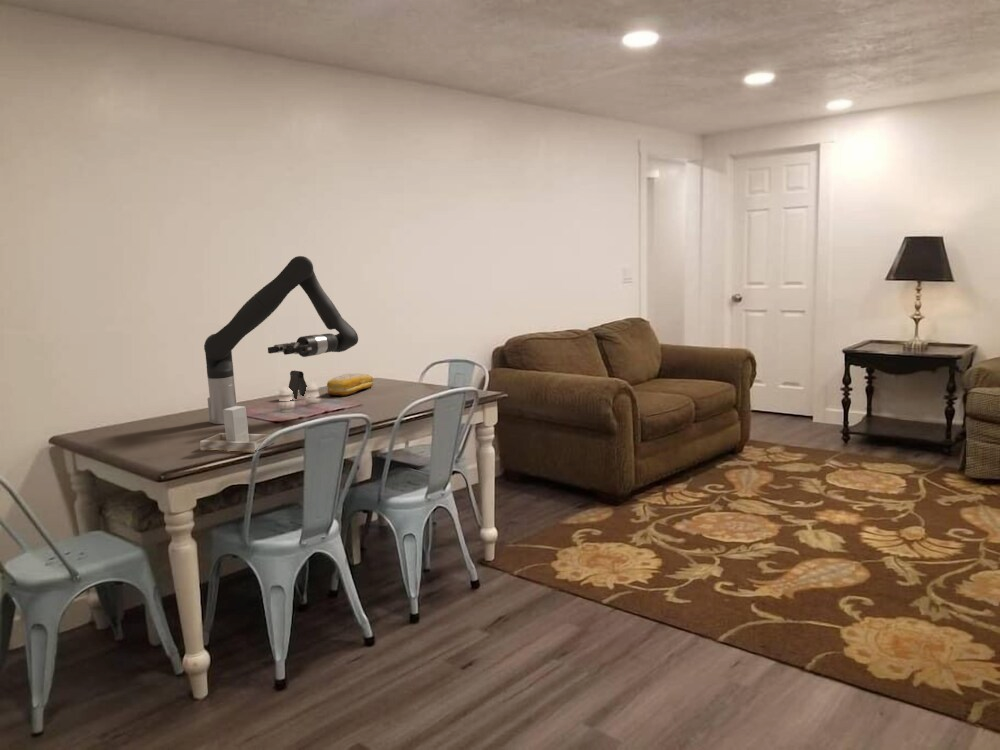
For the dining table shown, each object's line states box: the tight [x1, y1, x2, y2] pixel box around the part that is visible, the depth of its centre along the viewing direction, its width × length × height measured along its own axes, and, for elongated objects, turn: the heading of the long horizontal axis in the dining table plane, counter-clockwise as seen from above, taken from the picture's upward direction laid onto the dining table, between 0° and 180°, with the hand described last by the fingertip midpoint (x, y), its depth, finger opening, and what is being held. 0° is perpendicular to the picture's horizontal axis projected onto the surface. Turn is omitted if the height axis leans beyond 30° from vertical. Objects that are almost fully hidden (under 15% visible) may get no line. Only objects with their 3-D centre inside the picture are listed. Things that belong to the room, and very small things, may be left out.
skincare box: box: [223, 405, 250, 442], centre depth 243 cm, size 6×4×12 cm
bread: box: [326, 373, 374, 397], centre depth 335 cm, size 13×26×8 cm, turn 163°
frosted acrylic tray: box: [199, 432, 271, 453], centre depth 244 cm, size 20×11×3 cm, turn 75°
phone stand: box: [288, 369, 308, 399], centre depth 323 cm, size 9×6×12 cm, turn 136°
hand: (276, 351), depth 263 cm, fingers open, 8 cm apart
